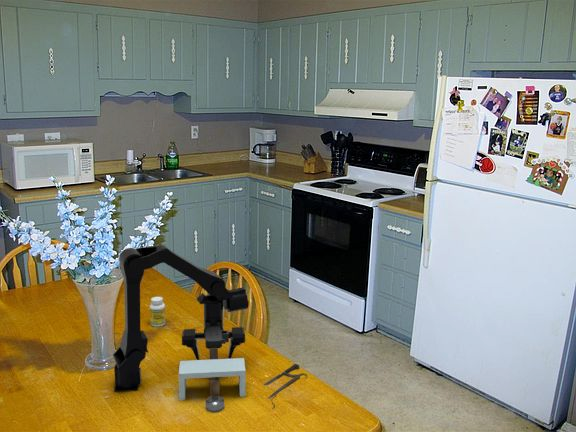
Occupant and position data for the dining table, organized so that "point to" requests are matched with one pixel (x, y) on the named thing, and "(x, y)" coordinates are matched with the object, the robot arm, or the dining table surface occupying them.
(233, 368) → the plinth bridge
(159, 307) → the supplement bottle
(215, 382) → the walnut batten
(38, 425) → the dining table surface
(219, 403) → the steel puck
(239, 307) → the robot arm
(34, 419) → the dining table surface
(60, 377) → the dining table surface
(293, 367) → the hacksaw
